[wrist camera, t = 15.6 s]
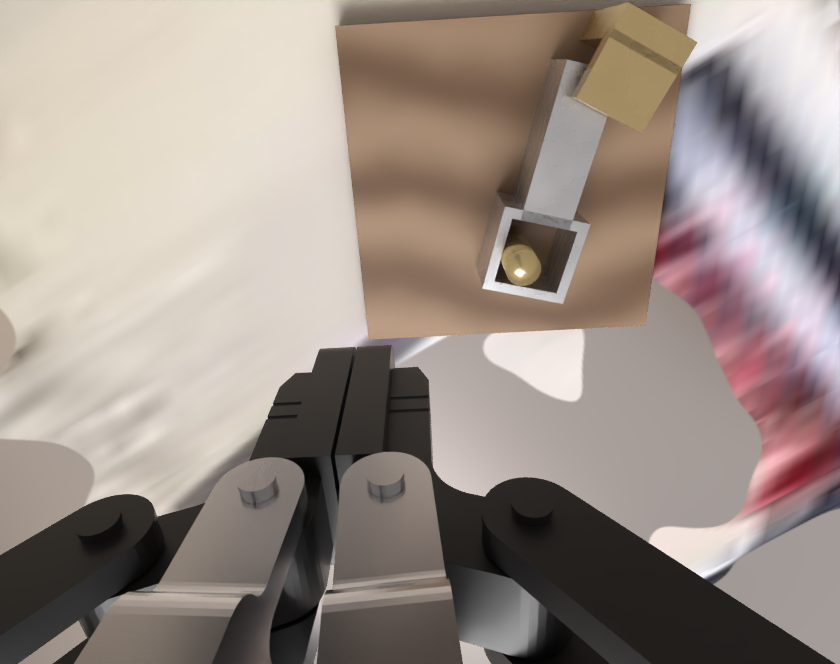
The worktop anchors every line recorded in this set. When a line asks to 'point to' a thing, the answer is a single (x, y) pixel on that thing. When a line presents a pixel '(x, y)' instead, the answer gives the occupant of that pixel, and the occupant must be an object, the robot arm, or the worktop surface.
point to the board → (487, 174)
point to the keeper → (630, 63)
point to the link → (548, 186)
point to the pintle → (519, 259)
